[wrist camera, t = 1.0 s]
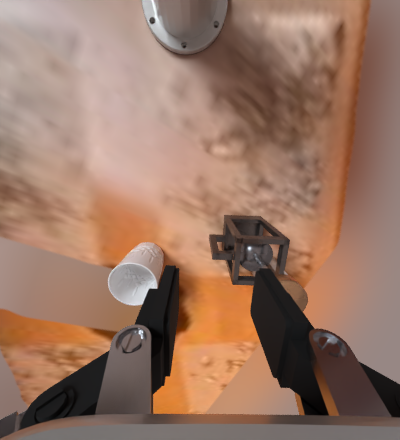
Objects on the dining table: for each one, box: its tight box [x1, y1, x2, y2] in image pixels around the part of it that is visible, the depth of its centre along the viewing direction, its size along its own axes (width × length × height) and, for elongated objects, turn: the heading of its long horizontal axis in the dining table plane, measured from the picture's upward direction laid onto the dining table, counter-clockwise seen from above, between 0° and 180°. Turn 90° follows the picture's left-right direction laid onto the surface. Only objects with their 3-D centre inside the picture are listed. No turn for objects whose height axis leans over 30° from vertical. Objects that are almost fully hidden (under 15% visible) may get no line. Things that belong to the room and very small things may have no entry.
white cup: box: [108, 242, 164, 305], centre depth 35 cm, size 8×8×10 cm
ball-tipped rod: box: [240, 243, 308, 312], centre depth 24 cm, size 5×5×11 cm
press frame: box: [209, 215, 290, 285], centre depth 33 cm, size 7×10×13 cm
